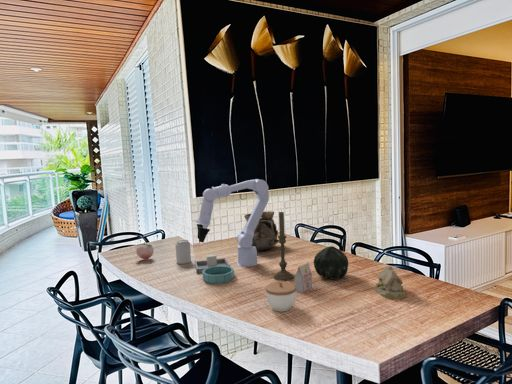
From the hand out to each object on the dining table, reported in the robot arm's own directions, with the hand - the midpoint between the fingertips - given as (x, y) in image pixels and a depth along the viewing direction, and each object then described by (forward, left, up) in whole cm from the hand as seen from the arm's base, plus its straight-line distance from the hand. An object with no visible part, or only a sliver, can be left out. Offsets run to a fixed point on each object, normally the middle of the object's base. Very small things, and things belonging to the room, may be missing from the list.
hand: (200, 240), depth 175 cm
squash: (-54, +32, -15) cm, 64 cm away
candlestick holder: (-34, +25, -15) cm, 45 cm away
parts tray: (-5, 0, -15) cm, 15 cm away
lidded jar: (-23, +56, -15) cm, 62 cm away
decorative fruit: (+28, -30, -15) cm, 44 cm away
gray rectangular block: (-5, 0, -14) cm, 15 cm away
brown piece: (-37, -28, -15) cm, 49 cm away
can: (+8, -15, -15) cm, 23 cm away
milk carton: (-37, +42, -15) cm, 58 cm away
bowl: (-6, +16, -15) cm, 22 cm away
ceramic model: (-67, +56, -15) cm, 89 cm away
